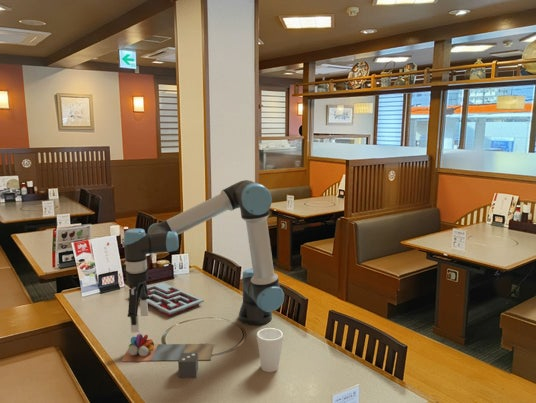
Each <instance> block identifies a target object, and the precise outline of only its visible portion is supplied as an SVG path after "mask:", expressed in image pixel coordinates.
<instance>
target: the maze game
mask: <svg viewBox="0 0 536 403" xmlns="http://www.w3.org/2000/svg"><path fill="white" fill-rule="evenodd" d="M147 290H148V294H149V295H148V296H149V299H146V300H147V304H148V305H150V306H151V307H154V309H156V310H157V312H160V313H162V314H164V315H166V316H168V317H172V316H174V315H177V314H179V313H182V312H185V311H186V310H190V309H192V308H195V307H198V306H200V304H201V303H204V302H205V300H204V299H202V298H200V297H198V296H195V295H192V294H191V293H188V292H186V291H183V290H182V289H180V288H177V287H176V286H175V287H174V286H172V285H170V284H168V283H165V282H160V283H156V284H152V285H149V286H147ZM140 300H142V299H140V298H139V302H140Z"/></svg>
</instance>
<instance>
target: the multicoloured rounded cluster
mask: <svg viewBox="0 0 536 403" xmlns="http://www.w3.org/2000/svg"><path fill="white" fill-rule="evenodd" d="M154 345H155V341H154V340H153V339H152V338H149V335H148V334H145V335H143V334H141V333H138V334H136V336H132V337H131V338H130V343H129V344H128V348H129V349H128V348H127V350H128V352H129V354H130V355H132V356H134V355H137V354H138V353H139V355H140V356H146V355H148V353H149V352H151V351H153V349H154Z"/></svg>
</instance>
